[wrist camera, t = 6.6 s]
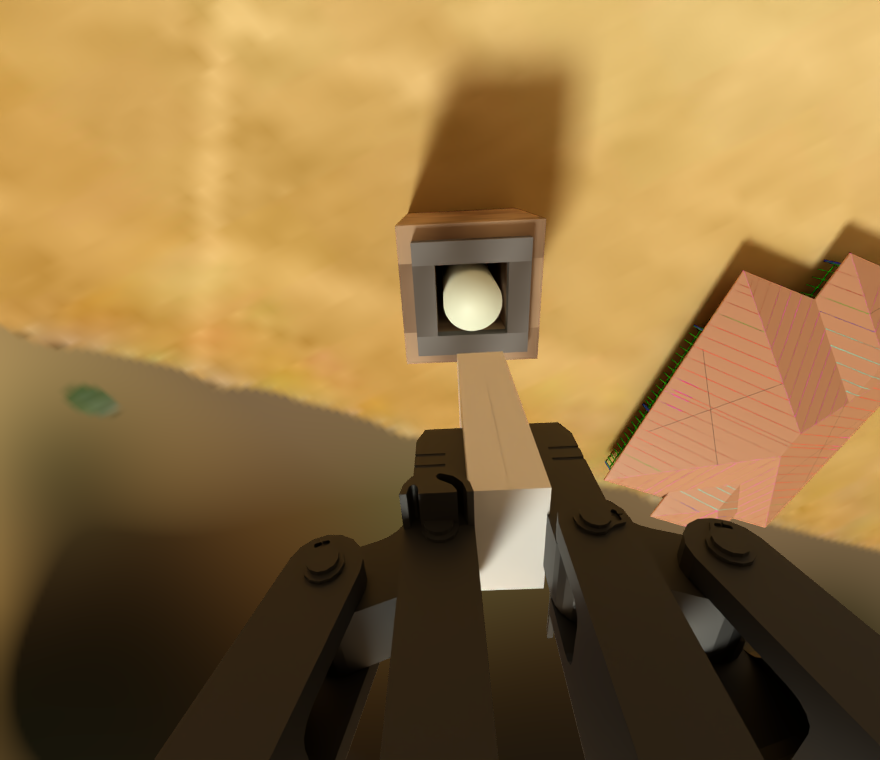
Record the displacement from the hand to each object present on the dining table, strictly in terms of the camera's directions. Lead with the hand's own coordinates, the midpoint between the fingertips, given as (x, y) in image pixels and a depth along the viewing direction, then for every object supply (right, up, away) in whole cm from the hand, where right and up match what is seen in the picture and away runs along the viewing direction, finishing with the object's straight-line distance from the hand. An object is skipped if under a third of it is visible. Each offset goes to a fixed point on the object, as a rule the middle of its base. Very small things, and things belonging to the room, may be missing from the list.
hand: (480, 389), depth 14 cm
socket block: (+1, +12, +26) cm, 29 cm away
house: (+33, -2, +33) cm, 47 cm away
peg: (+1, +11, +25) cm, 27 cm away
